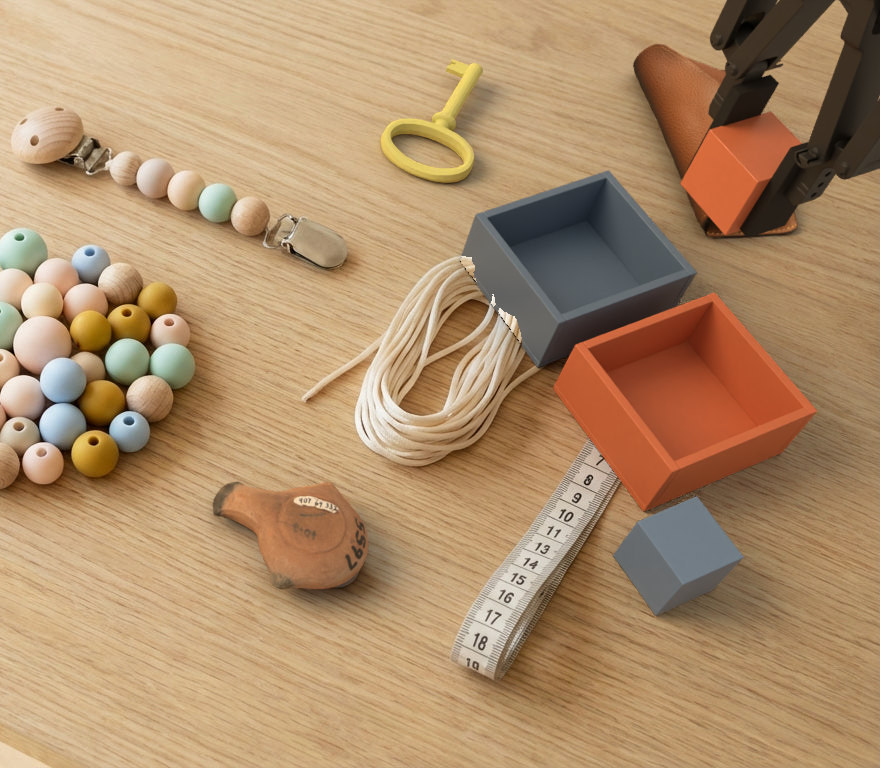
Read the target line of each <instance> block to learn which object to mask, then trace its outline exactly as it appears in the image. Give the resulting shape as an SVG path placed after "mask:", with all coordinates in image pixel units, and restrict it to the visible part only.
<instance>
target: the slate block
mask: <svg viewBox="0 0 880 768" xmlns="http://www.w3.org/2000/svg"><path fill="white" fill-rule="evenodd" d="M612 557H613V558H614V559H615V560H616V562H617V563H618V565H619V566H620V568H621V569H622V571H623V572H624V573H625V575H626V576H627V578H628V579H629V580H630V582H631V583H632V585H633V586H634V588H635V589H636V590H637V592H638V593H639V595H640V597H642V599H643V600H644V602H645V603H646V604H647V606H648V608H649V609H650V610H651V611H652V613H653V615H654V616H656V617H657V616H659V615H662V614H664V613H666V612H668V611H670V610H672V609H675V608H677V607H679V606H681V605H683V604H687V603H689V602H690V601H693V600H695V599H697V598H698V597H701V596H703V595H706V594H708V593H710V592H712V591H714V590H715V589H716V588H717V587H718V586H719V585H720V584H721V582H723V581H724V579H726V577H728V575H729V574H730V573H731V572H732V571H733V570H734V569H735V568H736V567H737V565H739V564H740V562H742V560H743V559H744V558H745V557H744V555H743V554H742V552H741V551H740V550H739V548H738V547H737V546H736V545H735V543H734V541H733V540H731V538H730V537H729V535H727V533H726V531H725V530H724V529H723V528H722V527H721V525H720V523H719V522H718V521H717V520H716V518H715V517H714V516H713V514H712V513H711V512H710V511H709V510H708V508H707V507H706V506H705V504H704V503H703V502H702V500H701V499H700V498H699V496H694V497H691V498H689V499H687V500H684V501H682V502H679V503H678V504H677V503H676V504H675V505H673V506H670V507H668V508H665V509H663V510H660V511H658V512H657V513H656V512H655V513H654V514H651V515H649V516H647V517H645V518H643V519H640V520H638V521H636V523H635V524H634V525H633V527H632V528H631V529H630V531H629V532H628V533H627V535H626V537H625V538H624V539H623V540H622V542H621V543H620V545H618V548H617V549H616V550H615V551H614V553H613V554H612Z"/></svg>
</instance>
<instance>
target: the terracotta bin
mask: <svg viewBox="0 0 880 768" xmlns="http://www.w3.org/2000/svg"><path fill="white" fill-rule="evenodd" d="M552 390H553V392H555V394H557V396H558V397H559V399H560V400H561V402H562V403H563V405H564V406H565V407H566V409H567V410H568V411H569V413H570V414H571V415H572V418H574V419H575V421H576V423H578V425H579V426H580V428H582V431H583V432H584V433H585V435H586V436H587V438H588V439H589V440H590V441H591V443H592V444H593V445H594V447H595V448H596V450H597V451H598V452H599V453H600V455H601V456H602V458H603V459H604V461H605V462H606V463H607V464H608V465H609V467H610V469H611V470H612V471H613V473H614V474H615V475H616V476H617V478H618V479H619V481H620V482H621V484H622V485H623V486H624V487H625V489H626V490H627V492H628V493H629V494H630V496H631V497H632V498H633V500H634V501H635V503H636V504H637V505H638V507H639V508H640V509H641V511H642V512H646V511H649V510H651V509H654V508H656V507H659V506H660V505H663V504H666V503H668V502H670V501H673V500H675V499H677V498H679V497H682V496H684V495H686V494H687V495H688V494H689V493H691V492H694V491H697V490H698V489H700V488H703V487H705V486H708V485H710V484H712V483H714V482H717V481H719V480H721V479H724V478H727V477H728V476H731V475H733V474H735V473H738V472H740V471H742V470H745V469H747V468H750V467H752V466H755V465H756V464H759V463H762V462H764V461H766V460H769V459H771V458H773V457H776V456H778V455H781V454H782V453H783V452H784V451H785V450H786V449H787V448H788V447H789V445H790V444H791V443H792V442H793V441H794V439H795V438H796V437H797V436H798V435H799V434H800V432H801V431H803V429H804V428H805V427H806V425H807V424H809V422H810V421H811V420H812V419H813V418H814V416H815V415H816V414H817V413H818V410H817V408H815V406H814V405H813V404H812V403H811V402H810V401H809V399H808V398H807V397H806V396H805V395H804V394H803V392H802V391H801V390H800V389H799V388H798V386H796V384H795V383H794V381H792V380H791V378H790V377H789V376H788V375H787V374H786V373H785V372H784V371H783V368H781V367H780V366H779V365H778V364H777V363H776V362H775V360H774V359H773V357H772V356H771V355H770V354H769V353H768V352H767V351H766V349H765V348H764V347H763V346H762V345H761V344H760V342H758V340H757V339H756V338H755V337H754V336H753V335H752V334H751V333H750V331H749V330H748V329H747V328H746V327H745V325H744V324H743V323H742V322H741V321H740V319H739V318H737V316H736V315H735V314H734V313H733V312H732V310H731V309H730V308H729V307H728V306H727V305H726V303H725V302H724V301H723V300H722V299H721V297H719V295H718V294H717V293H716V292H711V293H709V294H707V295H704V296H701V297H699V298H696V299H694V300H691V301H688V302H685V303H683V304H680V305H677V307H675V308H672V309H669V310H667V311H664V312H661V313H659V314H656V315H653V316H651V317H648V318H645V319H643V320H640V321H637V322H635V323H632V324H629V325H627V326H624V327H621V328H619V329H616V330H613V331H611V332H608V333H605V334H603V335H600V336H597V337H594V338H592V339H589V340H586V341H584V342H581V343H578V344H576V345H575V346H574V348H573V350H572V352H571V354H570V356H568V358H567V360H566V362H565V364H564V366H563V368H562V369H561V371H560V373H559V375H558V378H557V379H556V381H555V383H554V385H553V387H552Z"/></svg>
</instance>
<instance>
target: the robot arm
mask: <svg viewBox="0 0 880 768" xmlns="http://www.w3.org/2000/svg"><path fill="white" fill-rule="evenodd" d="M838 1H839V2H840V4H841V5H842V7H843V8H844V10H845V11H846V13H847V15H846V18H845V21H844V23H843V26H842V28H841V31H840V40H841V41H843V46H842V48H841V50H840V51H841V52H840V54H839V56H838V60H837V62H836V65H835V68H834V69H833V70H834V71H833V73H832V76H831V79H830V82H829V84H828V87H827V89H826V93H825V96H824V98H823V101H822V103H821V107H820V108H819V111H818V115H817V118H816V120H815V123H814V126H813V127H812V131H811V134H810V136H809V139H808V141H806V142H803V143H802V144H800V145H796V146H793V147H790V149H789V150H788V152H787V154H786V155H785V157H784V158H783V160H782V162H781V163H780V165H779V166H778V168H777V170H776V171H775V173H774V174H773V176H772V178H771V179H770V181H769V182H768V184H767V186H766V187H765V189H764V190H763V192H762V194H761V195H760V197H759V198H758V200H757V202H756V203H755V205H754V206H753V208H752V210H751V211H750V213H749V215H748V216H747V218H746V219H745V221H744V223H743V224H742V226H741V227H740V230H741V231H742V232H743V234H744V235H745V236H746V237H745V238H747V239H748V238H753V237H752V236H755V235H758V234H761V233H764V232H767V231H770V230H773V229H776V228H779V227H782V226H785V225H786V223H787V222H788V220H789V219H790V217H791V216H792V214H793V213H795V211H796V210H797V208H798V207H799V206H800V205H803V204H806V203H809V202H812V201H815V200H816V199H819V198H821V196H822V195H823V194H824V192H825V191H826V189H827V188H828V187H829V185H830V184H831V182H832V180H833V179H834V178H835V176H837V177H838V178H839V179H840V180H844V181H846V180H849V179H852V178H855V177H859V176H861V175H865V174H867V173H871V172H875V171H877V170H880V0H838ZM835 2H836V0H726V1H725V3H724V5H723V7H722V9H721V12H720V13H719V16H718V18H717V19H716V22H715V24H714V26H713V28H712V30H711V32H710V35H709V43H710V46H711V47H712V49H714V50H715V51H721V52H722V53H723V55H724V58H725V60H726V62H725V65H724V70H725V73H726V75H725V77H724V79H723V81H722V83H721V84H720V86H719V88H718V90H717V93H716V94H715V96H714V98H713V100H712V101H711V103H710V105H709V112H708V114H709V115H710V117H711V118H712V119H713V122H712V124H711V125H710V127H709V129H708V131H707V133H706V135H707V134H708V132H709V130H710V129H713V128H716V127H720V126H725V125H729V124H732V123H735V122H739V121H742V120H745V119H749V118H752V117H755V116H759V115H761V114H763V112H764V110H765V109H766V106H767V105H768V103H769V101H770V100H771V98H772V96H773V95H774V93H775V92H776V89H777V87H778V86H779V84H780V83H779V81H778V80H776V78H774V77H773V75H771V74H767V75H764V74H765V73H766V72H767V71H771V70H775V69H778V68H781V67H783V66H784V63H781V62H782V59H783V58H784V57H785V56H786V55H787V53H788V52H790V50H791V49H792V48H793V47H794V46H795V45H796V44H797V42H799V41H800V39H802V37H803V36H804V35H805V34H806V33H807V32H808V31H809V30H810V29H811V27H813V25H815V23H816V22H817V21H818V20H819V19H820V18H821V17H822V15H824V13H825V12H826V11H827V10H828V9H829V8H830V7H831V6H832V5H833V4H834V3H835ZM778 63H779V64H778ZM706 135H705V136H704V138H703V140H702V142H701V144H700V146H701V145H702V143H703V141H704V139H705V137H706ZM700 146H699V148H700ZM699 148H698V149H697V151H696V153H695V155H694V157H693V159H694V158H695V156H696V154H697V152H698V150H699ZM693 159H692V160H691V162H690V164H689V166H688V168H687V170H688V169H689V167H690V165H691V163H692V161H693ZM755 237H756V236H755Z"/></svg>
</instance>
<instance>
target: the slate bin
mask: <svg viewBox="0 0 880 768" xmlns="http://www.w3.org/2000/svg"><path fill="white" fill-rule="evenodd" d="M461 256H466V257H472V262H473V264H474V265H475V271H474V272H473V273H474V278H476V281H477V282H476V283H475V285H476V286H477V288H479V290H480V292H481V293H482V294H483V296H484V297H485V298H486V300H487V301H488V303H489V304H490V303H491V301H492V296H493V295H492V294H494V297H495V303H496V305H495V306H494V308H493V309H494V310H495V312H496V313H497V314H498V313H499V312H498V310H499V308H501V309H502V310H503V311H504V312H507V313H508V314H510V315H512V316H515V318H516V319H517V322H518V326H519V329H520V332H521V337H522V346H521V347H522V349H523V350H524V351H525V353H526V354H527V356H529V359H531V361H532V362H533V364H534V365H535V367H536V368H540V367H543V366H546V365H548V364H551V363H554V362H557V361H560V360H562V359H565V358H567V357H569V356H570V354H571V352H572V350H573V348H574V346H575V345H576V344H578V343H581V342H584V341H586V340H589V339H592V338H594V337H597V336H600V335H603V334H605V333H608V332H611V331H613V330H616V329H619V328H621V327H624V326H627V325H629V324H632V323H635V322H637V321H640V320H643V319H645V318H648V317H651V316H653V315H656V314H659V313H661V312H664V311H667V310H669V309H672V308H675V307H677V306H679V304H680V302H681V300H682V299H683V297H684V295H685V294H686V293H687V290H689V287H690V285H691V284H692V283H693V281H694V279H695V277H696V276H697V274H698V271H697V270H696V269H695V268H694V267H693V266H692V264H691V263H690V262H689V261H688V260H687V259H686V258H685V256H684V255H683V254H682V253H681V252H680V251H679V249H678V248H677V247H676V246H675V245H674V244H673V242H671V240H670V239H669V238H668V237H667V236H666V234H665V233H664V232H663V231H662V229H660V227H659V226H658V225H657V224H656V223H655V222H654V221H653V219H652V218H651V217H650V216H649V214H647V213H646V211H645V210H644V208H642V207H641V205H639V203H638V201H636V200H635V199H634V197H633V196H632V195H631V194H630V193H629V191H628V190H626V188H625V187H624V186H623V185H622V184H621V182H620V181H619V180H618V179H617V178H616V177H615V176H614V174H613V173H612V172H611V170H605V171H602V172H600V173H596V174H593V175H590V176H586V177H583V178H581V179H577V180H575V181H572V182H568V183H565V184H563V185H560V186H557V187H553V188H550V189H548V190H543V191H541V192H539V193H536V194H533V195H530V196H526V197H523V198H519V199H518V200H514V201H511V202H509V203H505V204H502V205H499V206H496V207H493V208H490V209H488V210H484V211H481V212H478V213H476V214H475V215H474V217H473V221H472V224H471V227H470V229H469V232H468V235H467V238H466V241H465V244H464V247H463V249H462V253H461V255H460V257H461Z"/></svg>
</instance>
